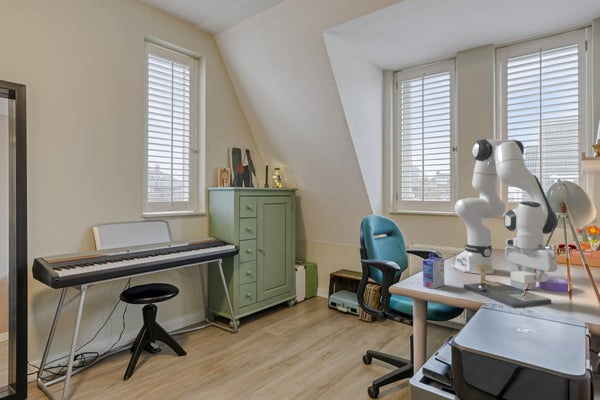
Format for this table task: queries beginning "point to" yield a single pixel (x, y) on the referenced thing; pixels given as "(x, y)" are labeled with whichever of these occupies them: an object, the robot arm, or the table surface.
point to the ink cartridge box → (433, 272)
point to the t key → (482, 269)
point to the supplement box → (520, 284)
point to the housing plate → (508, 295)
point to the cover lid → (527, 276)
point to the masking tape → (555, 284)
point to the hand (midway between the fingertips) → (529, 278)
